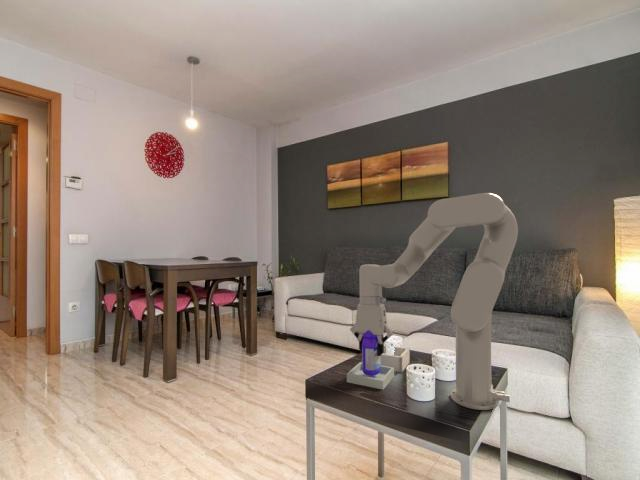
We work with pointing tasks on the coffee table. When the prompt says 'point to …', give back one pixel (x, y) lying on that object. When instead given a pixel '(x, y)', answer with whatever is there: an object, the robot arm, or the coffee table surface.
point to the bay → (396, 359)
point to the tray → (370, 377)
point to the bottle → (370, 354)
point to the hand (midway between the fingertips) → (371, 353)
